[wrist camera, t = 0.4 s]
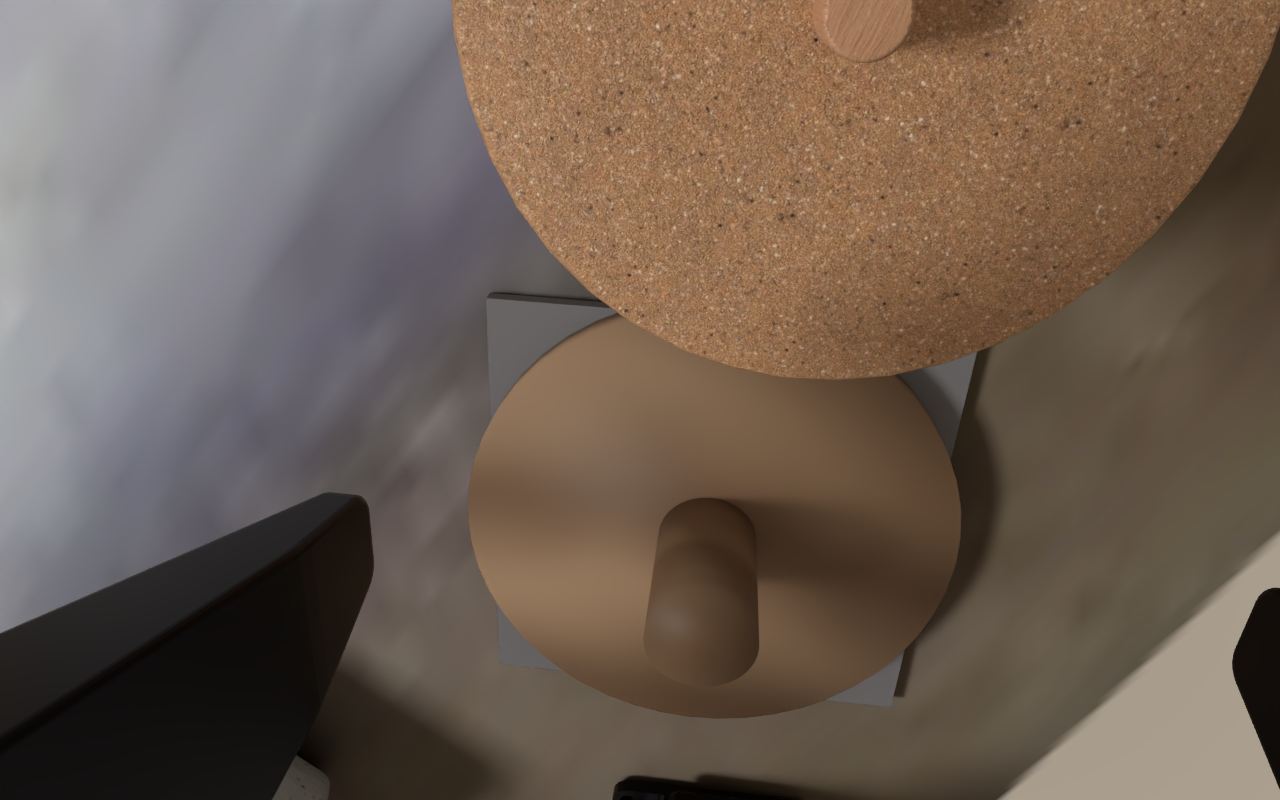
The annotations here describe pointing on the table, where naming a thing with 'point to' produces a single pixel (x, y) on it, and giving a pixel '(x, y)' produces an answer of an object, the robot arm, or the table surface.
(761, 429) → the lid
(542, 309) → the mat
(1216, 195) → the table surface
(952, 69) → the lidded jar
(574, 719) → the table surface
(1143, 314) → the table surface
